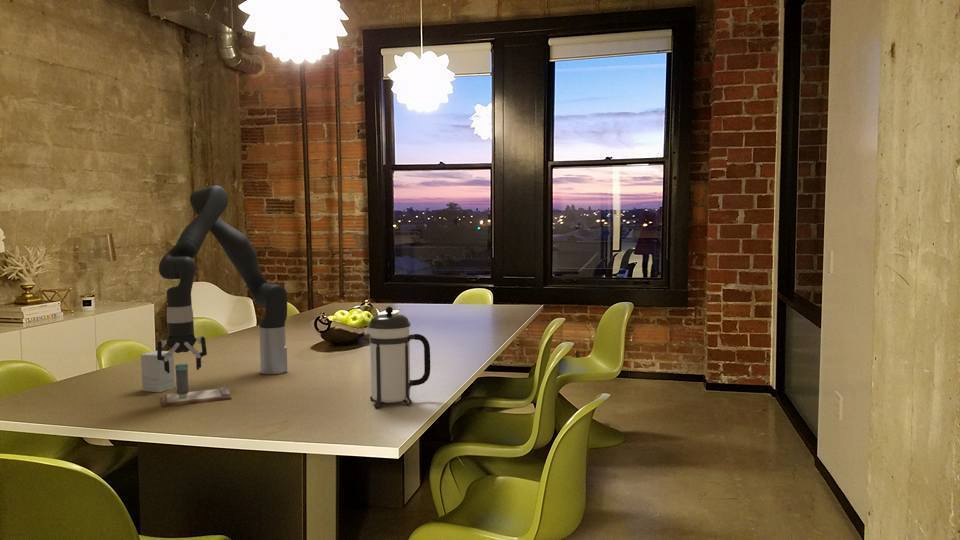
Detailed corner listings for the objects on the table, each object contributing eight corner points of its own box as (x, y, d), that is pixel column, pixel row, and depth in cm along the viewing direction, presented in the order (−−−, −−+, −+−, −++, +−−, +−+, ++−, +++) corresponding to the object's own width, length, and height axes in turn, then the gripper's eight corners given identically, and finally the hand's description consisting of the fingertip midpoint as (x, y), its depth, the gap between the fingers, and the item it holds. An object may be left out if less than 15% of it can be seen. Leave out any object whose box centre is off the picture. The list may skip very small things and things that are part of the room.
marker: (188, 395, 217) (187, 363, 216) (189, 398, 214) (187, 365, 213) (176, 396, 215) (175, 364, 215) (176, 399, 212) (175, 366, 211)
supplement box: (175, 387, 232) (174, 351, 231) (159, 392, 225) (157, 355, 224) (158, 386, 234) (157, 350, 233) (141, 391, 227) (140, 354, 226)
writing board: (227, 390, 228) (227, 385, 227) (231, 399, 216) (231, 394, 216) (162, 397, 219) (161, 392, 219) (161, 406, 207) (161, 402, 207)
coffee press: (397, 412, 199) (395, 311, 197) (356, 405, 207) (354, 307, 205) (432, 399, 214) (430, 304, 212) (392, 392, 222) (390, 301, 220)
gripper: (204, 316, 219) (206, 366, 220) (155, 320, 213) (158, 371, 214) (205, 319, 212) (208, 370, 213) (155, 323, 206) (158, 376, 207)
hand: (183, 371), depth 214 cm, fingers open, 8 cm apart
